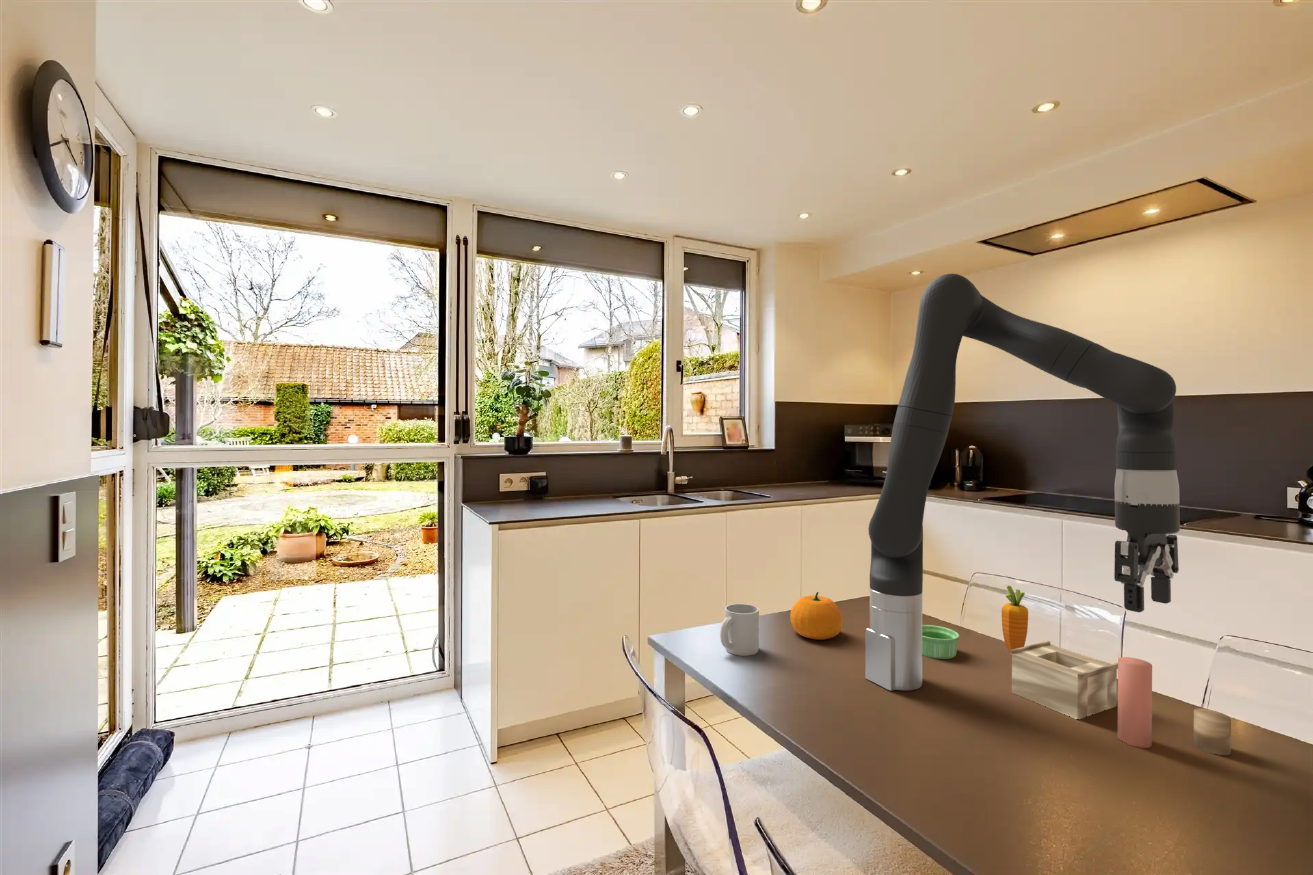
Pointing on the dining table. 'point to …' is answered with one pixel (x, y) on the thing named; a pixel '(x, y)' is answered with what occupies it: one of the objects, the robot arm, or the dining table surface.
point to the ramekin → (939, 642)
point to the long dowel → (1135, 702)
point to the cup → (740, 629)
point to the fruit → (816, 617)
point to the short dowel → (1212, 731)
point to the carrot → (1014, 621)
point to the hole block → (1064, 679)
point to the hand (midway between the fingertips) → (1147, 606)
